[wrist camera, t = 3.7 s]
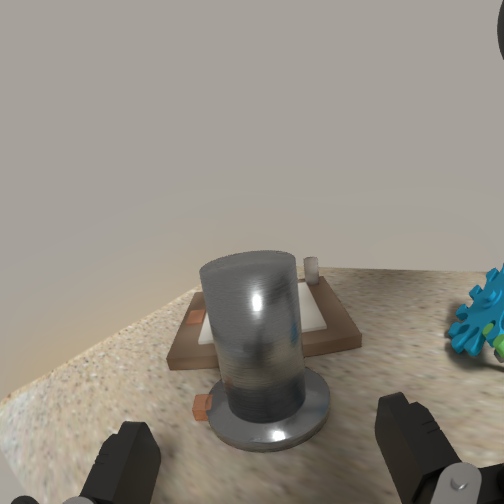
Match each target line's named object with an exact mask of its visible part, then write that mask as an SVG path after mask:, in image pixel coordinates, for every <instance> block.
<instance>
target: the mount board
mask: <svg viewBox="0 0 504 504" xmlns="http://www.w3.org/2000/svg"><path fill="white" fill-rule="evenodd" d="M304 269H305V279H299V280H298V291H299V303H300V314H301V327H302V340H303V354H304V357H308V356H315V355H321V354H326V353H332V352H338V351H343V350H348V349H353V348H358V347H361V338H362V334H361V333H360V331H359V330H358V328H357V327H356V325H355V324H354V322H353V321H352V319H351V318H350V316H349V314H348V313H347V311H346V310H345V308H344V307H343V305H342V304H341V302H340V301H339V299H338V298H337V296H336V295H335V293H334V292H333V290H332V289H331V287H330V286H329V284H328V283H327V281H326V280H325V278H324V277H323V276H320V277H319V272H318V259H317V258H316V257H307V258H305V259H304ZM166 359H167V363H168V366H169V369H170V370H185V369H202V368H216V367H219V364H218V359H217V355H216V350H215V346H214V341H213V337H212V332H211V328H210V323H209V318H208V314H207V309H206V304H205V299H204V294H203V292H196V293H195V294H194V296H193V298H192V300H191V303H190V305H189V307H188V310H187V312H186V314H185V316H184V319H183V321H182V323H181V325H180V328H179V330H178V332H177V335H176V337H175V339H174V342H173V344H172V346H171V349H170V351H169V353H168V356H167V358H166Z"/></svg>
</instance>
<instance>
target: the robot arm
mask: <svg viewBox="0 0 504 504" xmlns="http://www.w3.org/2000/svg"><path fill="white" fill-rule="evenodd" d="M497 34H498V43H499V48H500V52H501V54H502V57H503V59H504V0H503V2H502V5H501V8H500V12H499V16H498V25H497ZM375 436H376V440H377V443H378V445H379V447H380V450H381V452H382V455H383V457H384V459H385V462H386V464H387V467H388V469H389V472H390V474H391V477H392V479H393V482H394V484H395V487H396V489H397V492H398V494H399V497H400V499H401V502H402V504H504V463H502V464H497V465H493V466H489V467H484V468H476V467H475V466H474V465H472V464H469V463H463V462H462V461H461V460H460V459H459V457H458V456H457V454H456V452H455V451H454V449H453V448H452V446H451V444H450V443H449V441H448V440H447V438H446V436H445V435H444V433H443V432H442V430H440V427H439V425H438V424H437V422H436V421H435V419H434V418H433V416H432V415H431V413H430V412H429V410H428V409H427V408H425V407H424V406H422V405H421V404H419V403H418V402H414V403H411V404H409V402H408V401H407V399H406V398H405V396H404V394H403V393H402V392H398V393H395V394H391V395H387V396H384V397H380V399H379V402H378V409H377V416H376V422H375ZM160 463H161V454H160V449H159V447H158V445H157V443H156V441H155V439H154V437H153V435H152V433H151V431H150V429H149V427H148V425H147V424H146V423H145V422H130V421H125V422H123V423H122V425H121V428H120V430H119V432H118V434H112V435H111V436H110V437H109V438H108V439H107V440H106V441H105V442H104V443H103V445H102V447H101V449H100V451H99V455H98V456H97V458H96V460H95V464H93V466H92V469H91V471H90V473H89V475H88V478H87V480H86V482H85V484H84V487H83V489H82V491H81V493H80V495H79V496H78V497H72V498H69V499H68V500H66V501H65V502H64V503H63V504H150V502H151V498H152V494H153V490H154V486H155V482H156V478H157V475H158V471H159V467H160ZM11 504H39V503H38V502H37V501H36V500H35V499H34V498H32V497H30V496H19V497H17V498H16V499H14V500H13V501H12V503H11Z"/></svg>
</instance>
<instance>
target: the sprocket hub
mask: <svg viewBox="0 0 504 504" xmlns="http://www.w3.org/2000/svg"><path fill="white" fill-rule="evenodd" d="M199 273H200V279H201V284H202V289H203V294H204V299H205V304H206V309H207V314H208V318H209V323H210V328H211V332H212V337H213V341H214V346H215V350H216V355H217V359H218V364H219V368H220V372H221V376H222V379H221V380H220V381H219V382H218V383H216V384H215V386H214V387H213V388H212V389H211V391H210V392H209V394H207V395H196V396H195V400H194V405H193V409H192V411H193V414H194V417H195V420H196V421H203V420H209V423H210V426H211V428H212V430H213V432H214V433H215V434H216V435H217V437H218V438H220V439H221V440H222V441H223V442H225V443H227V444H228V445H230V446H232V447H235V448H237V449H241V450H244V451H250V452H262V453H263V452H275V451H281V450H285V449H288V448H291V447H294V446H297V445H299V444H301V443H303V442H305V441H306V440H308V439H309V438H311V437H312V436H313V435H314V434H316V433H317V432H318V431H319V430H320V428H321V427H322V426H323V425H324V423H325V421H326V419H327V417H328V414H329V409H330V393H329V388H328V386H327V384H326V382H325V381H324V379H323V378H322V377H321V376H320V375H319V374H317V373H316V372H314V371H313V370H311V369H309V368H306V367H304V354H303V340H302V327H301V314H300V303H299V291H298V280H297V270H296V261H295V257H294V256H293V255H292V254H290V253H287V252H282V251H269V250H268V251H251V252H243V253H238V254H233V255H229V256H225V257H222V258H218V259H216V260H213V261H211V262H209V263H207V264H205V265H204V266H203V267H202V268H201V269H200V271H199Z"/></svg>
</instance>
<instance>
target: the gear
mask: <svg viewBox="0 0 504 504" xmlns="http://www.w3.org/2000/svg"><path fill="white" fill-rule="evenodd" d="M486 278H487V282H486V285H485V287H484V289H483V290H482V289H481V287H480V286H479V285H476V286H475V287H474V288H473V289H472V290H471V291H470V292H469V295H470V297H471V298H472V299H473V300H474V302H473V304H472V306H471V307H470V308H468V307H467V306H466V305H465V304H462V305H461V306H460V308H459V309H458V310H457V312H456V313H455V315H456V316H457V317H458V318H459V320H460V321H463V320H465V319H466V320H465V321H464V322H463V323H459V322H455V323H453V324H452V326H451V328H450V330H449V333H448V334H449V335H450V336H451V337H452V338H453V339H452V342H451V344H452V347H453V348H454V350H455V351H456V352H457V353H460V352H461V351H463V350H464V348H465V350H466V351H467V352H468V353H469V355H471V356H476V355H478V354H479V352H480V351H481V349H482V346H483V344H484V342H485V340H486V341H487V342H488V343H489V345H490V346H491V347H495V351H494V355H495V357H496V358H497V360H498V361H499V362H500V363H504V264H503V268H502V270H501V271H500V273H499V271H498V270H497V269H496V268H494V269H492V270H491V271H489V272H488V273H487V275H486Z"/></svg>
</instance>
